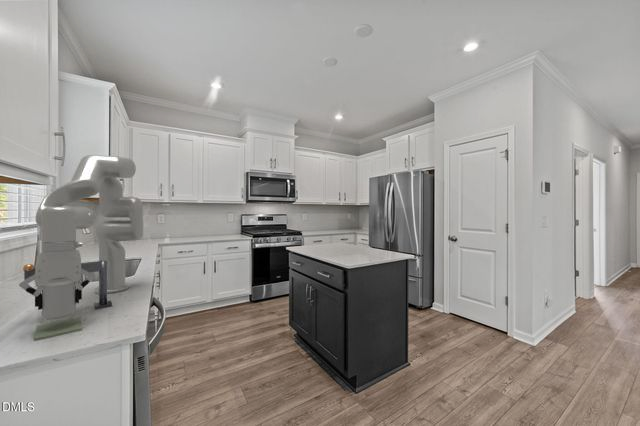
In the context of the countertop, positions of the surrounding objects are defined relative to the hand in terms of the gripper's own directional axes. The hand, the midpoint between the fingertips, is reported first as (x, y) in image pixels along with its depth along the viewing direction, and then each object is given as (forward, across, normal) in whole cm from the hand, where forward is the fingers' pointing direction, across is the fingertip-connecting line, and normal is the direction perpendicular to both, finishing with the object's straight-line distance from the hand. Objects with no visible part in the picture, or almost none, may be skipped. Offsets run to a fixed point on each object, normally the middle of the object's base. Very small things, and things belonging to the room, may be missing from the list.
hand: (59, 304), depth 82 cm
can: (+4, 0, 0) cm, 4 cm away
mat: (+7, 0, 0) cm, 7 cm away
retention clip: (+6, -2, -15) cm, 16 cm away
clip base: (+7, -12, -16) cm, 21 cm away
